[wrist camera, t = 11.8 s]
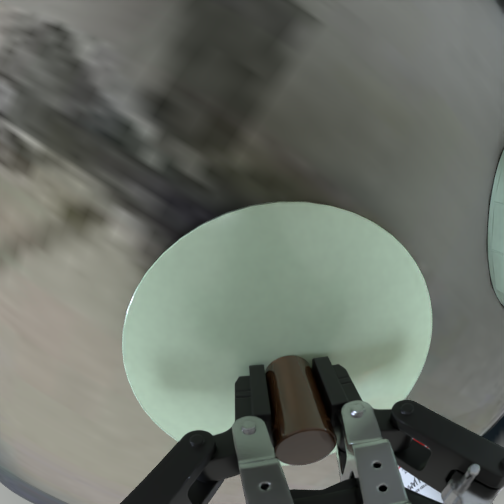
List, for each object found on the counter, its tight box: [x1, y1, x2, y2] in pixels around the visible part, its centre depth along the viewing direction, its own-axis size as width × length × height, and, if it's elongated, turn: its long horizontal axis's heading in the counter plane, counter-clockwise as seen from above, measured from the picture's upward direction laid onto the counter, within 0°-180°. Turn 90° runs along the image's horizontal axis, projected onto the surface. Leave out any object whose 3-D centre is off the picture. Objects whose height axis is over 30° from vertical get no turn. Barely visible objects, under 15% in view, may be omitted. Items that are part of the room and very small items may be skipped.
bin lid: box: [122, 201, 432, 466], centre depth 12 cm, size 17×17×6 cm
